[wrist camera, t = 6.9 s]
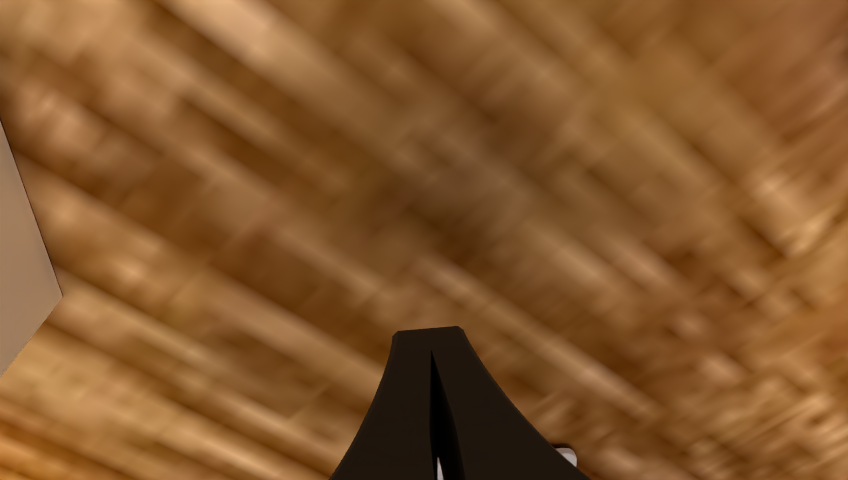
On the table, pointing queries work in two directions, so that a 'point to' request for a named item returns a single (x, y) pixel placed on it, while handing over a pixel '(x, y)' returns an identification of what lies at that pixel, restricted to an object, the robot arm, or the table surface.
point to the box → (20, 265)
